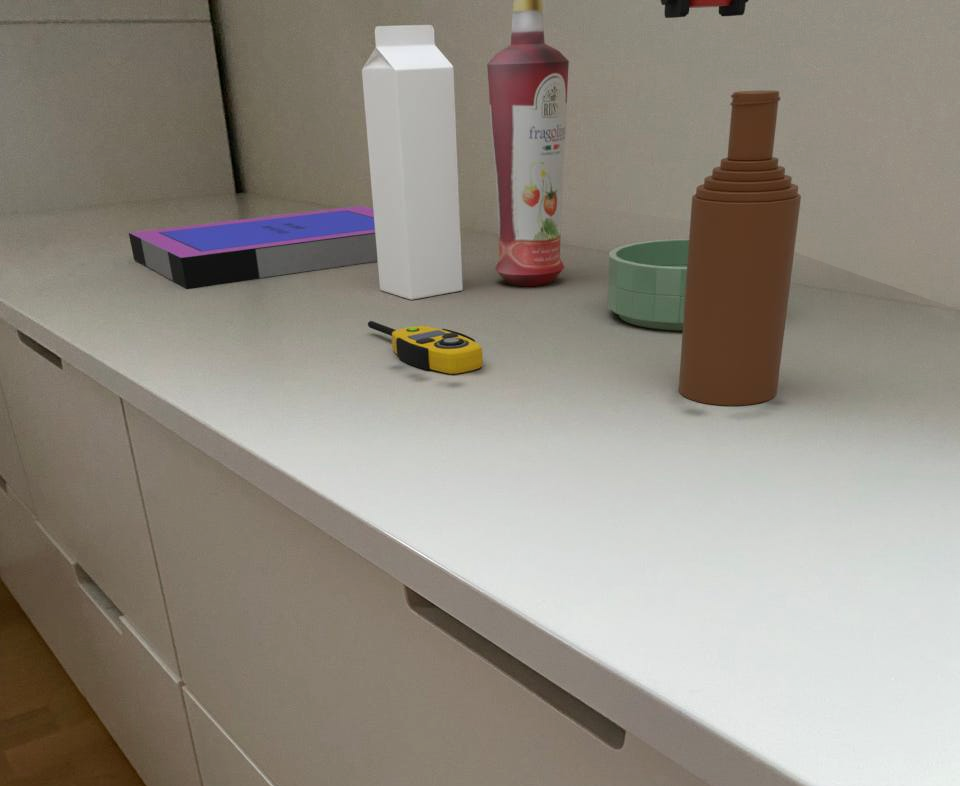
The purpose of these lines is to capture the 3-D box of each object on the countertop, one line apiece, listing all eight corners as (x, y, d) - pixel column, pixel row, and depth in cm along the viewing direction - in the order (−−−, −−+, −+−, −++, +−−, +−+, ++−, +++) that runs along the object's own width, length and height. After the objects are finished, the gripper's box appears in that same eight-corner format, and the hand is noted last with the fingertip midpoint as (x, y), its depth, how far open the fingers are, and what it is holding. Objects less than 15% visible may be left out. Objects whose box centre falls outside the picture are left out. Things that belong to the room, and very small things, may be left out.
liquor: (527, 293, 93) (523, -69, 79) (478, 282, 98) (466, -60, 84) (582, 280, 97) (588, -66, 83) (532, 271, 102) (529, -58, 88)
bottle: (748, 372, 69) (779, 87, 60) (794, 399, 64) (836, 90, 54) (663, 382, 68) (681, 92, 59) (703, 410, 62) (730, 96, 53)
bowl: (724, 292, 91) (729, 234, 88) (793, 325, 80) (801, 260, 77) (587, 304, 89) (589, 245, 86) (638, 339, 77) (641, 273, 75)
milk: (379, 291, 97) (355, 27, 85) (431, 281, 99) (414, 25, 88) (411, 300, 92) (391, 24, 81) (464, 290, 95) (452, 22, 84)
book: (128, 232, 115) (360, 205, 127) (134, 259, 116) (363, 230, 129) (180, 257, 99) (439, 224, 112) (186, 288, 101) (440, 252, 114)
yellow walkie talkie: (439, 352, 69) (341, 314, 80) (441, 379, 70) (344, 337, 81) (495, 340, 72) (393, 304, 82) (496, 366, 73) (394, 328, 83)
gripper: (818, -299, 68) (783, 15, 77) (588, -306, 65) (581, 21, 75) (878, -335, 62) (832, 11, 71) (626, -344, 59) (613, 18, 68)
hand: (704, 13), depth 73 cm, fingers closed on cap, 3 cm apart
